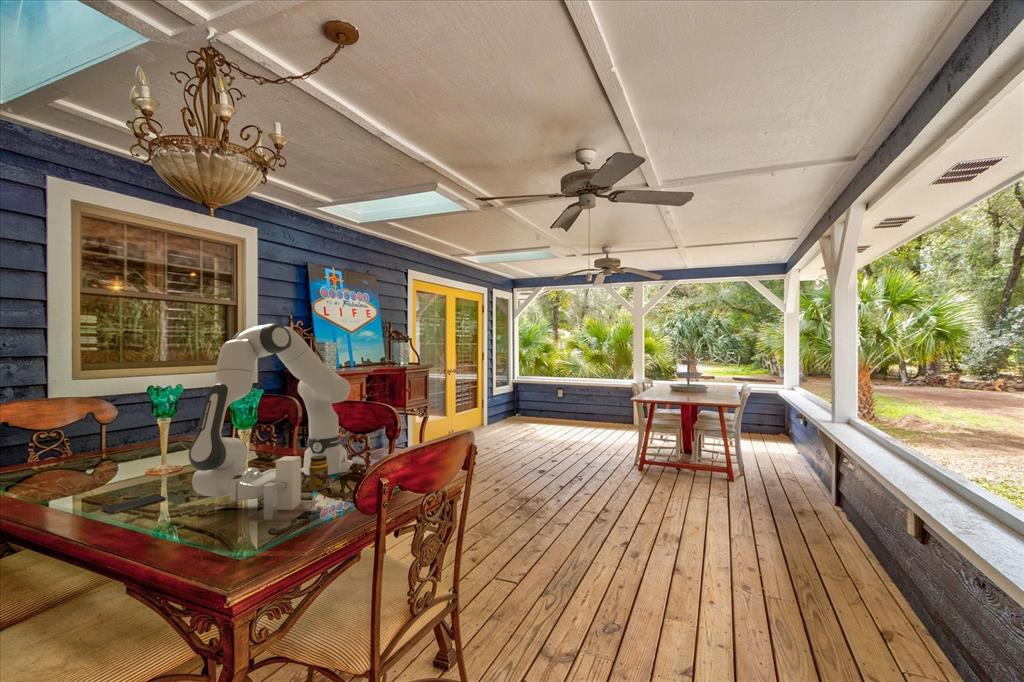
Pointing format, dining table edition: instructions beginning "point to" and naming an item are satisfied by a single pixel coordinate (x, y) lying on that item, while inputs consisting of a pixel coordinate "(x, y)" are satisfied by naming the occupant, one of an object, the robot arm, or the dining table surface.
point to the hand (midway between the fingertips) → (291, 482)
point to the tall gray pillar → (289, 482)
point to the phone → (133, 503)
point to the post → (270, 501)
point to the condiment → (318, 473)
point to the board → (284, 513)
